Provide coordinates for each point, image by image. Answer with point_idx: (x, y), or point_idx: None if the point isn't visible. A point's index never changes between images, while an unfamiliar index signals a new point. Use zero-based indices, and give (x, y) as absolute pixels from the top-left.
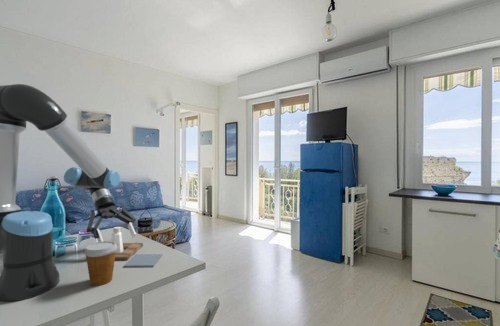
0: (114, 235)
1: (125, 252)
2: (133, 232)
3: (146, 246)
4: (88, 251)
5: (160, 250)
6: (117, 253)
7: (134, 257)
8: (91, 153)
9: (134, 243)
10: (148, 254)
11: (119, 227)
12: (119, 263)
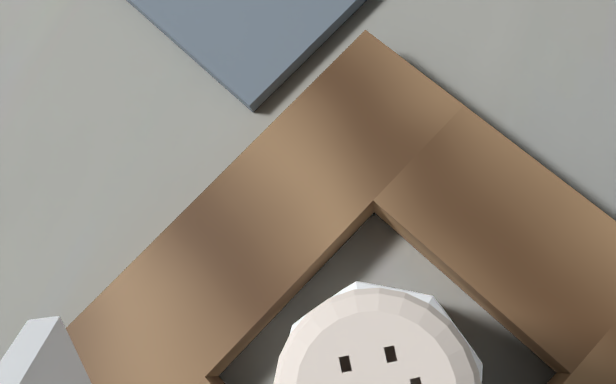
0: (447, 318)
1: (336, 165)
2: (41, 364)
3: None
4: None
5: (5, 89)
6: (424, 200)
7: (298, 28)
8: None
9: None
10: (160, 15)
11: (309, 337)
12: (457, 23)
